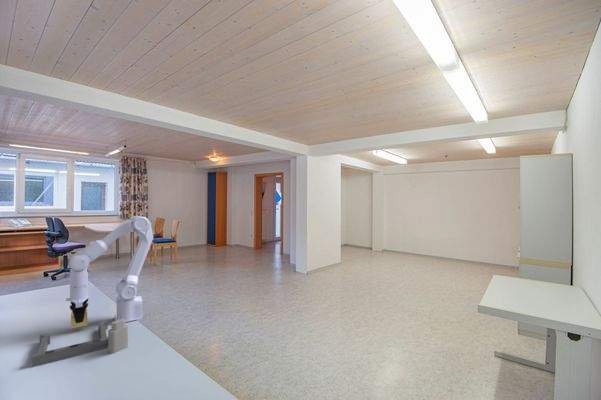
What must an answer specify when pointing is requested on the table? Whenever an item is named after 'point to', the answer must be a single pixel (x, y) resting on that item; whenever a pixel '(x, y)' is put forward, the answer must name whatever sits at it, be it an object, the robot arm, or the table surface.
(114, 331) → the power adapter
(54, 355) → the grey square frame
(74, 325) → the brass cube with recess
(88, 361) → the table surface
